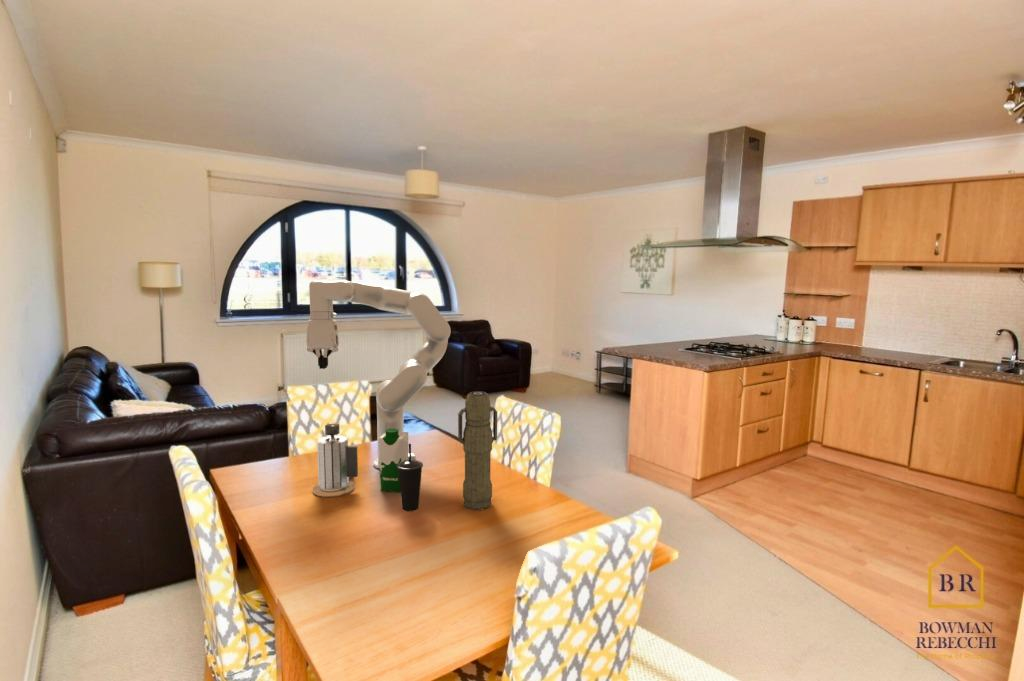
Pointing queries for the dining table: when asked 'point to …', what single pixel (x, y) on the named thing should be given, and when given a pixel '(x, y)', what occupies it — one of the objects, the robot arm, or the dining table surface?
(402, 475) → the drinking cup
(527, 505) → the dining table surface
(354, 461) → the cafetiere
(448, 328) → the robot arm
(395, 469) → the milk carton
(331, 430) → the plunger
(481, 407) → the thermos
